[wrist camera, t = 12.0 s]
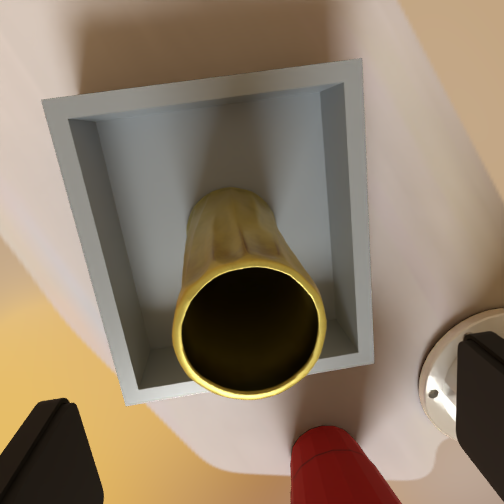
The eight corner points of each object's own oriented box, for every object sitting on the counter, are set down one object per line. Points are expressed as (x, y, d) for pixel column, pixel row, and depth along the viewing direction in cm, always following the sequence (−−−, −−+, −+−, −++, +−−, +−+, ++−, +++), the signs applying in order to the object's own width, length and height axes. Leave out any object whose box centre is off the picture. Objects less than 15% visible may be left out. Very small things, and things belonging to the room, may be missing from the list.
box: (330, 74, 25) (362, 58, 19) (346, 323, 30) (374, 363, 25) (79, 107, 24) (41, 99, 19) (141, 357, 29) (125, 406, 24)
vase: (268, 178, 25) (330, 228, 12) (282, 264, 27) (350, 392, 14) (177, 196, 25) (134, 266, 12) (197, 281, 27) (181, 429, 13)
